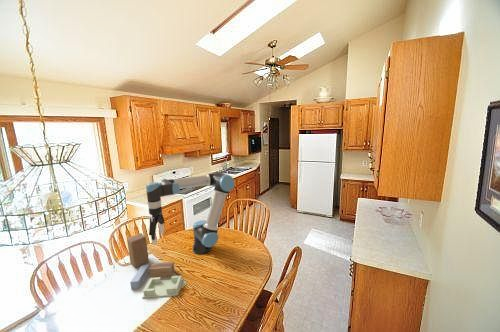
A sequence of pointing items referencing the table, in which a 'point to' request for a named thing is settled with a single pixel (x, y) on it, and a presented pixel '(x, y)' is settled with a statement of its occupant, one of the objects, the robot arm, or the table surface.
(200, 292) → the table surface
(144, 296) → the jig
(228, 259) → the table surface
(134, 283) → the blue-grey rectangular prism
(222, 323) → the table surface
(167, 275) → the brown rectangular block
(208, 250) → the robot arm
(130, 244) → the wooden block
